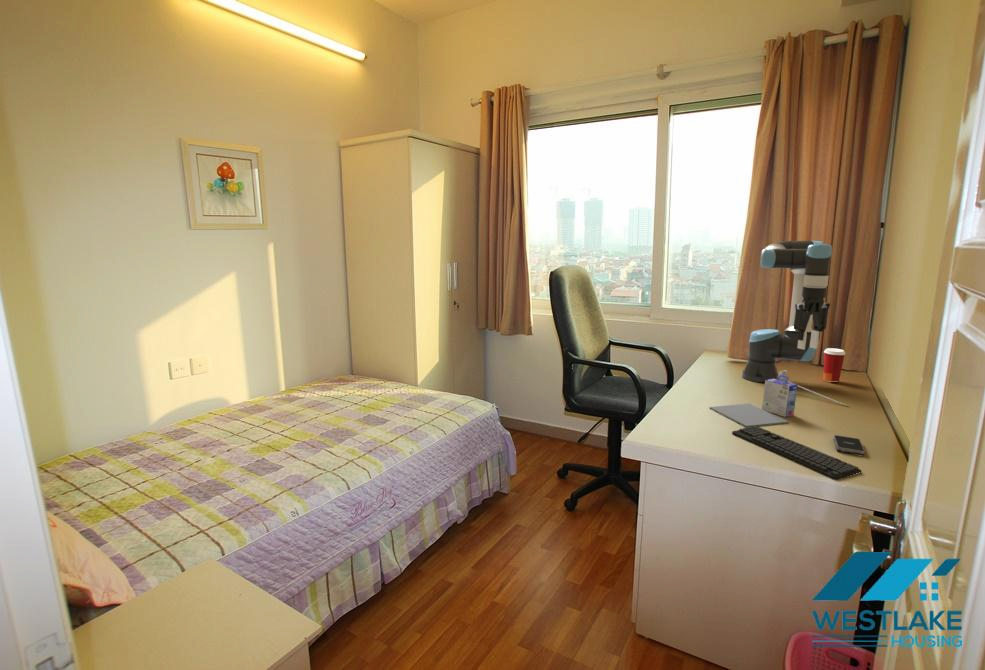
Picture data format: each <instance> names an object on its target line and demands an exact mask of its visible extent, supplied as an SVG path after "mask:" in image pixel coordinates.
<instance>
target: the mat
mask: <svg viewBox="0 0 985 670" xmlns="http://www.w3.org/2000/svg"><path fill="white" fill-rule="evenodd" d="M711 409H712V410H711ZM709 410H711V411H713V410H714V411H713V412H715V411H716V412H715V413H718V414H719V415H721V416H722V417H723V416H724V417H725V418H727V419H729V420H730V421H733V422H735V423H737V424H738V425H741V426H742V427H744V428H747V427H752V426H758V427H764V426H773V425H774V426H775V425H779V424H782V423H783V424H789V423H790V421H789V420H787V419H785V418H782V417H780V416H779V415H777V414H775V413H771V412H768V411H765V410H763V409H762V408H760V407H759V406H756V405H753V404H752V403H739V404H728V405H720V406H718V405H717V406H709Z"/></svg>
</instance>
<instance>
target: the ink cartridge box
mask: <svg viewBox="0 0 985 670" xmlns="http://www.w3.org/2000/svg"><path fill="white" fill-rule="evenodd" d="M778 376H779V377H778V379H768V380H765V383H764V387H763V389H764V390H763V396H762V402H761V403H762V404H761V409H763V410H765V411H767V412H769V413H772V414H774V415H777V416H781V417H784V418H786V417H791V416H792V415H793V416H794V415H795V407H796V398H797V391H798V387H797V386H798V385H799V384H797V383H794V382H792V383H789V382H787V381H789V378H790V376H787V375H786V376H784V375H779V374H778ZM780 377H784V378H785V380H784V379H780ZM793 383H794V384H793ZM793 416H792V417H793Z"/></svg>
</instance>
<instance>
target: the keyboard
mask: <svg viewBox="0 0 985 670" xmlns="http://www.w3.org/2000/svg"><path fill="white" fill-rule="evenodd" d="M731 432H732V433H731V434H732V435H733V436H736V437H738V438H740V439H742V440H744V441H747V442H749V443H751V444H753V445H755V446H758V447H760V448H762V449H765V450H766V451H769V452H771V453H774V454H776V455H778V456H780V457H782V458H785V459H787V460H789V461H791V462H794V463H796V464H799V465H800V466H803V467H805V468H808V469H809V470H812V471H814V472H817V473H818V474H821V475H823V476H825V477H828V478H829V477H830V479H832V480H835V481H838V480H841V478H842V479H845V478H848V477H847V476H849V477H851V476H850V475H852V476H854V475H853V474H856V473H859V472H861V473H862V469H861V468H859V466H856V465H854V464H851V463H847V462H846V461H844V460H841V459H839V458H836V457H834V456H831V455H829V454H826V453H824V452H821V451H819V450H817V449H814V448H812V447H809V446H806V445H804V444H802V443H799V442H797V441H794V440H792V439H789V438H787V437H784V436H782V435H779V434H777V433H774V432H772V431H769V430H767V429H765V428H763V427H761V426H752V427H747V428H746V427H744V428H739V429H738V430H733V431H731ZM859 474H860V473H859ZM856 475H857V474H856ZM844 477H845V478H844Z"/></svg>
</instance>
